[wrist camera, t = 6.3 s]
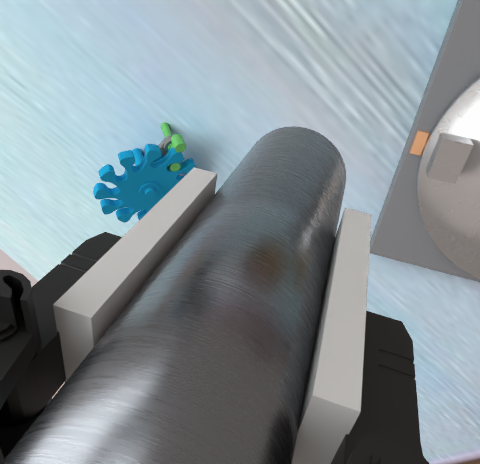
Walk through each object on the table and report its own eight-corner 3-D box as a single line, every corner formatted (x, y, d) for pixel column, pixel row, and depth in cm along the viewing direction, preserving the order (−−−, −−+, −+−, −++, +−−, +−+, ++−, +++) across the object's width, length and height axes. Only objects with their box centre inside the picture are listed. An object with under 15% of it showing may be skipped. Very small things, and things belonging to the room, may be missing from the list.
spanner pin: (254, 116, 15) (-464, 853, 2) (359, 140, 15) (173, 1348, 2) (239, 206, 18) (-175, 847, 5) (330, 231, 17) (151, 1065, 4)
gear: (161, 235, 45) (75, 215, 37) (147, 195, 48) (65, 170, 40) (228, 167, 40) (144, 130, 33) (208, 128, 43) (127, 85, 36)
